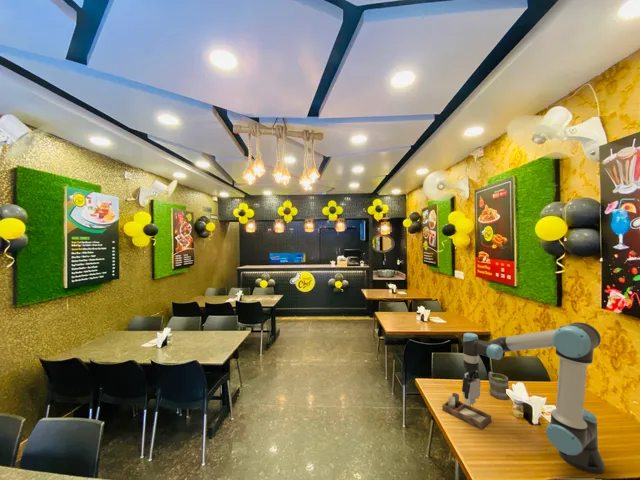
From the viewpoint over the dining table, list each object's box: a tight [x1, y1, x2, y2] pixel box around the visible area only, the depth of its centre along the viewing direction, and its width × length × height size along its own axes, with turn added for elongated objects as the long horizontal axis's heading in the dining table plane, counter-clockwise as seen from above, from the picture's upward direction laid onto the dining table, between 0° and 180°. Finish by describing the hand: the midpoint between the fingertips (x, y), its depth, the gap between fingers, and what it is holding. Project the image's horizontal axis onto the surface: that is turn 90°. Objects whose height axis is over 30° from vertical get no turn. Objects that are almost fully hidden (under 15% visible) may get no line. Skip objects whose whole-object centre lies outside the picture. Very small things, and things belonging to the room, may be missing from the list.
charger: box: [462, 378, 481, 407], centre depth 155 cm, size 5×9×15 cm, turn 112°
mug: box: [488, 371, 510, 400], centre depth 180 cm, size 16×11×12 cm
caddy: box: [441, 392, 492, 430], centre depth 157 cm, size 22×12×8 cm, turn 36°
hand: (471, 400), depth 155 cm, fingers closed on charger, 10 cm apart
